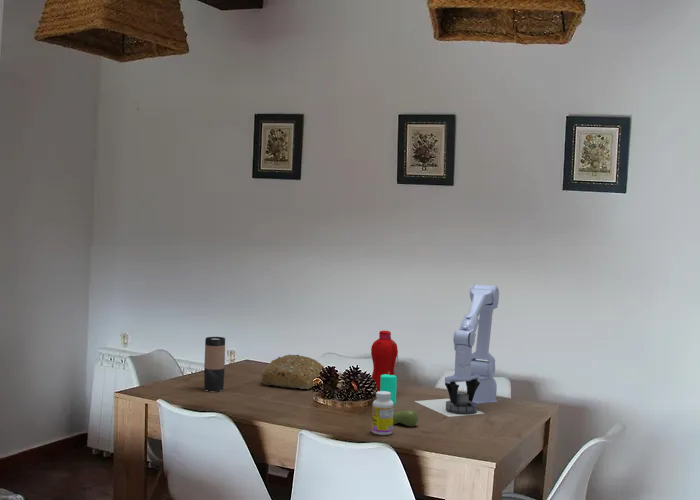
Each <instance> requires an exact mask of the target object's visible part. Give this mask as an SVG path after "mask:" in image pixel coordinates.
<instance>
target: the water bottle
mask: <svg viewBox="0 0 700 500" xmlns="http://www.w3.org/2000/svg"><path fill="white" fill-rule="evenodd" d="M378 334H379V337H378V339H376V340H375V341H373V342H372V345H371V349H370V351H371V352H370V354H371V360H372V364H373V365H372V366H373V367H372V368H373V371H372V375H371V378H373V379H374V380H375V382H376V385H377V392H378V391H380V381H381V375H384V374H387V375H395V376H396V374H395V368H397V367H398V365H399V363H397V365H396V361H397V360H399V355H398V354H399V351H398V345H397V343H396V342H395V340H393V339H392V332H391V331H390V330H379V333H378ZM397 392H398V391H397V389H396V394H397Z"/></svg>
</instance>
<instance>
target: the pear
mask: <svg viewBox="0 0 700 500" xmlns="http://www.w3.org/2000/svg"><path fill="white" fill-rule="evenodd" d="M418 422H419V415H418V413H417V412H416V411H415V410H413V409H406V410H404V409H403V410H401V411H393V425H397V424H402V425H405V426H407V427H410V428H411V427H414V426H416V425H417V424H418Z"/></svg>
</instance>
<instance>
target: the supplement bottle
mask: <svg viewBox="0 0 700 500" xmlns="http://www.w3.org/2000/svg"><path fill="white" fill-rule="evenodd" d="M375 397H376V399H375V400H374V401H373V402H372V411H371V413H372V415H371V433H372V434H374V435H377V434H378V436H389V435H391V434H392V433H393V429H394V424H393V413H394V407H395V406H394V404H393V402H392V401H391V400H390V398H391V393H390V392H387V391H378V392H376V396H375Z"/></svg>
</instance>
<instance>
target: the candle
mask: <svg viewBox="0 0 700 500" xmlns="http://www.w3.org/2000/svg"><path fill="white" fill-rule="evenodd" d="M397 381H398V376H396V374H395V375H387V374H384V375H381V381H380V391H387V392H390V393H391V398H390V400H391V401H392V402H393V404H394V405H397V393H396V389H397V385H398V384H397V383H398V382H397Z"/></svg>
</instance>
